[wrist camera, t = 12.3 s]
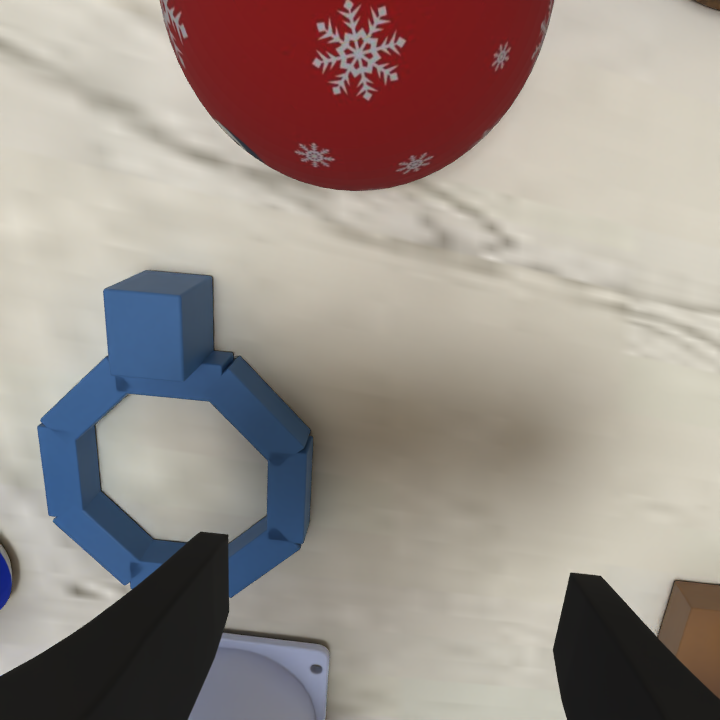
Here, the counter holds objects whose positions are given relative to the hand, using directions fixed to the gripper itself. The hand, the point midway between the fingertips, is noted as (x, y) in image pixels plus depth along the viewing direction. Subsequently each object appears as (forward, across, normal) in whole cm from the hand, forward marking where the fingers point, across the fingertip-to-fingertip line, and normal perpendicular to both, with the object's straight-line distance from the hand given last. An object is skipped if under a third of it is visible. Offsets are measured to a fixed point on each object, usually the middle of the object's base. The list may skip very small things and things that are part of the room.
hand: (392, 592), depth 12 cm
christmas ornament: (+10, +2, -12) cm, 15 cm away
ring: (+9, +8, +2) cm, 12 cm away
